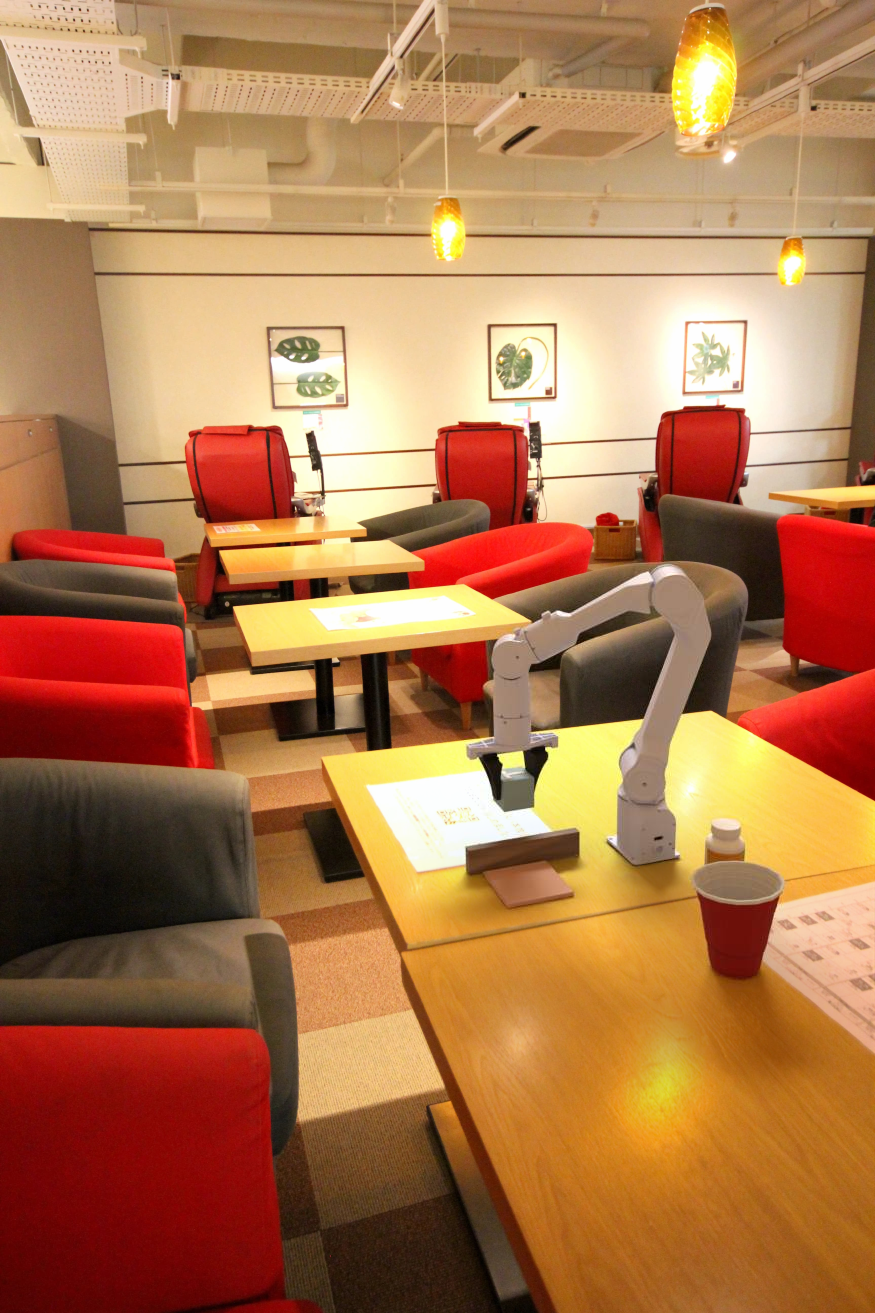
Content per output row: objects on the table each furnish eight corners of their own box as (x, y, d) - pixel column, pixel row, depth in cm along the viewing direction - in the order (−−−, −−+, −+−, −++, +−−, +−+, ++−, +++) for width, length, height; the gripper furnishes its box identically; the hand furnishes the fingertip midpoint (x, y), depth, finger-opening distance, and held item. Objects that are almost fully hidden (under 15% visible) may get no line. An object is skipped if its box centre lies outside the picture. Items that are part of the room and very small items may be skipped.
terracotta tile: (573, 895, 129) (573, 891, 129) (507, 908, 126) (507, 904, 126) (545, 864, 138) (545, 860, 138) (483, 875, 135) (483, 871, 135)
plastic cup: (708, 931, 119) (712, 848, 116) (792, 960, 112) (798, 872, 109) (671, 971, 111) (674, 882, 108) (759, 1004, 104) (765, 910, 101)
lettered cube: (534, 807, 141) (534, 777, 140) (504, 812, 140) (503, 781, 139) (522, 795, 146) (522, 765, 145) (493, 799, 145) (492, 770, 143)
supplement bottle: (748, 895, 127) (751, 832, 125) (709, 896, 127) (712, 832, 125) (736, 876, 132) (739, 815, 130) (699, 877, 132) (701, 816, 130)
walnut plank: (579, 855, 140) (579, 831, 139) (469, 875, 135) (468, 850, 134) (575, 851, 142) (575, 827, 141) (466, 870, 137) (465, 846, 136)
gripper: (545, 700, 145) (546, 779, 148) (459, 711, 141) (461, 792, 144) (563, 713, 138) (563, 795, 142) (473, 725, 134) (476, 809, 138)
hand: (513, 795), depth 143 cm, fingers closed on lettered cube, 5 cm apart
